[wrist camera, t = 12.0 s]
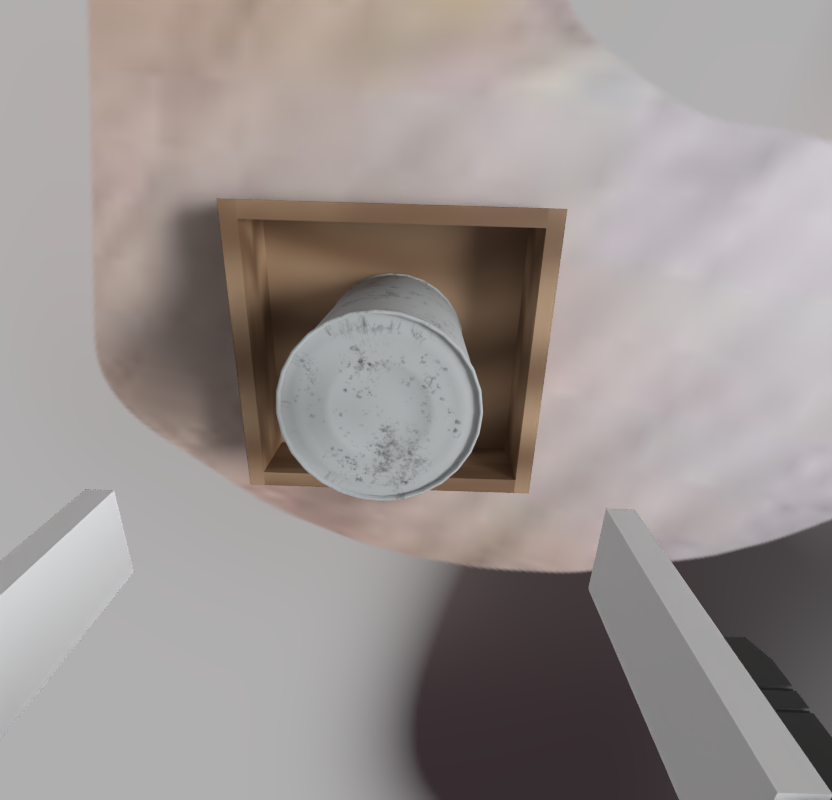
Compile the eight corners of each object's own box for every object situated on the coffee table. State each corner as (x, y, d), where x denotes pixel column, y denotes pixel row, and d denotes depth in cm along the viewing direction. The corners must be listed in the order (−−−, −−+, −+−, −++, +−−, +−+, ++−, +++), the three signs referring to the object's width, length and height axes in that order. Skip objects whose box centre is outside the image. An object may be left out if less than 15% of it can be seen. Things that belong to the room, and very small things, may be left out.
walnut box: (250, 200, 31) (216, 198, 26) (543, 208, 31) (567, 209, 26) (273, 447, 38) (250, 484, 33) (514, 454, 38) (528, 493, 33)
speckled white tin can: (306, 373, 34) (247, 456, 23) (357, 247, 31) (318, 270, 20) (426, 425, 36) (427, 528, 24) (487, 310, 32) (521, 366, 21)
